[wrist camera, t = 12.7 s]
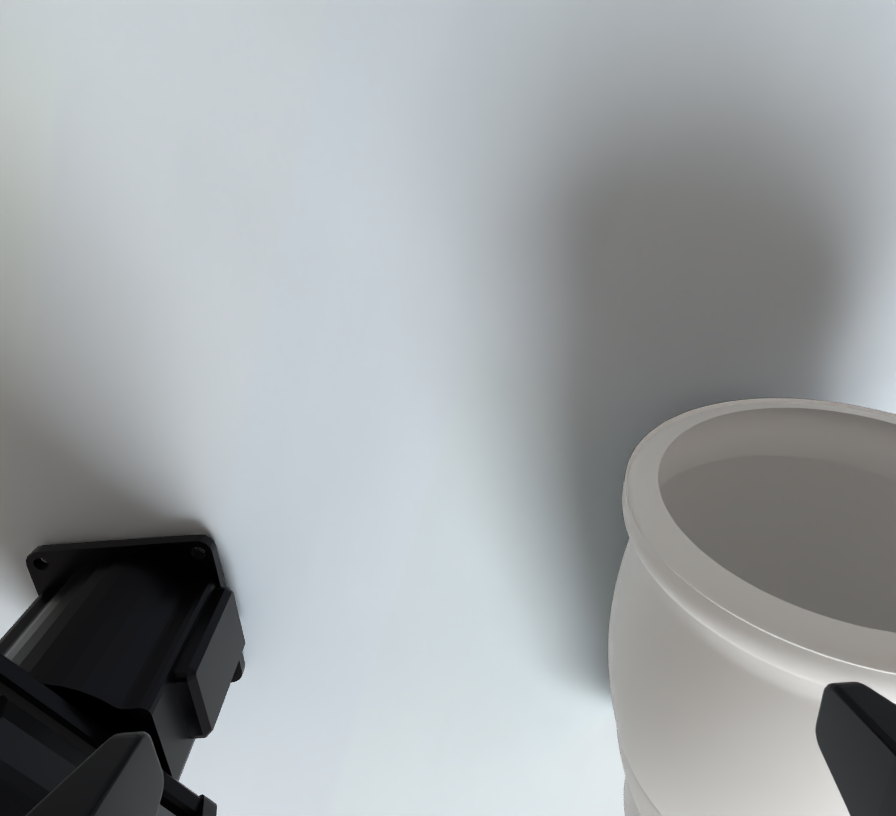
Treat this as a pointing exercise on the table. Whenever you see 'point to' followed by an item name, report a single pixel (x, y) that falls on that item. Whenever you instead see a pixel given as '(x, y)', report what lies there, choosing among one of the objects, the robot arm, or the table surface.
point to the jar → (750, 602)
